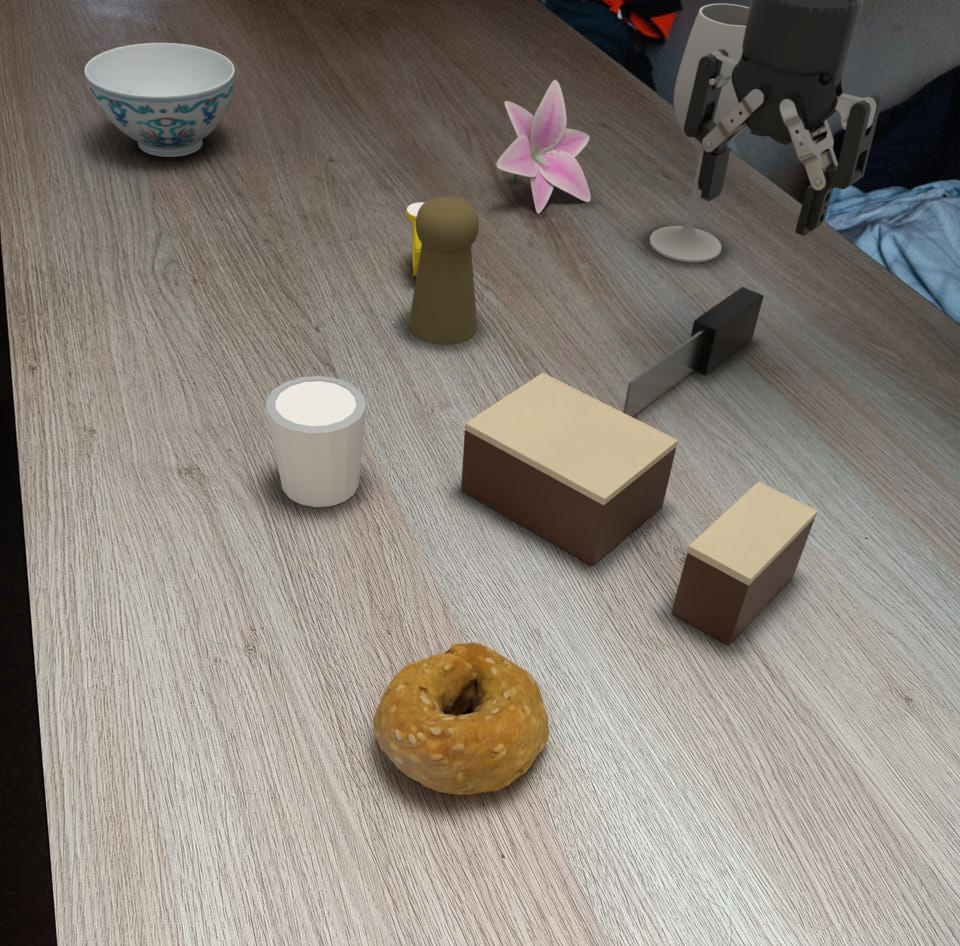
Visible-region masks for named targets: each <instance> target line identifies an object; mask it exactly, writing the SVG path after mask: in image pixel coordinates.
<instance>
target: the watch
mask: <svg viewBox="0 0 960 946" xmlns="http://www.w3.org/2000/svg"><path fill="white" fill-rule="evenodd" d="M424 203H425V202H424V201H423V202H421V201H420V202H414V203H411V204H409V205H407V207H406V211H405V212H406V214H405V215H406V218H407V220H408V221H410V222H412V275H413V277H415V278H416V276H417V270H418V264H419V258H420V252H421V245H422V243H421V241H420V240H419V238H418V236H417V232H416V217H417V214H418V210H419V209H420V207H421V206H422V204H424Z"/></svg>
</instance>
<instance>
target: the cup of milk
mask: <svg viewBox="0 0 960 946" xmlns="http://www.w3.org/2000/svg"><path fill="white" fill-rule="evenodd" d="M265 406H266V414H267V415H266V416H267V419H268V424H269V429H270V430H269V431H270V434H271V440H272V445H273V450H274V455H275V458H276V464H277V469H278V474H279V478H280V484H281V488H282V491H283V492H284V494H285V495H286V496H287V497H288V499H290V500H291V501H293V502H295V503H297V504H299V505H301V506H307V507H310V508H311V507H312V508H328V507H333V506H336V505H339V504H342V503H345V502H346V501H348V500H349V499H350V498H352V497H353V496H354V495H355V494H356V493H357V489H358V488H359V485H360V476H361V465H362V452H363V444H364V443H363V442H364V433H365V422H366V410H367V405H366V400H365V395H364V394H363V393H362V392H361V391H360V390H359V389H358V388H357V387H356V386H355V385H353V384H351V383H349V382H347V381H345V380H342V379H340V378H337V377H336V378H335V377H330V376H323V375H314V376H313V375H312V376H300V377H297V378H293V379H291V380H288V381H287V380H286V381H284V382H283V383H282V384H280V385H278V386H276V387H275V388H273V389H272V390H271V392H270V393H269V395H268V397H267V398H266V400H265Z"/></svg>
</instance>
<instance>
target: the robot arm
mask: <svg viewBox="0 0 960 946" xmlns="http://www.w3.org/2000/svg"><path fill="white" fill-rule="evenodd" d="M864 1H865V0H750V5H749V8H750V9H749V14H748V19H747V24H746V29H745V34H744V39H743V44H742V48H743V52H742V56H741V58H740V60H739V61H737V60H735V59H732V58H729V55H728V52H727V51H726V50H724V49H719V50H717V51H714V52H712V53H710V54H708V55H706V56H704V57H702V58H701V59H700V61H699V64H698V68H697V72H696V77H695V81H694V85H693V90H692V94H691V98H690V103H689V107H688V111H687V116H686V120H685V124H684V133H685V134H686V135H685V134H684V133H683V134H684V135H685V137H686V136H688V137H694V138H696V139H697V140H698V141H699V142H700V143H701V144H702V147H703V158H702V163H701V168H700V173H699V178H698V188H699V190H700V198H701V200H705V201H707V202H711V201H713V200H714V199H717V198H718V197H719V196H720V195H721V194H722V191H723V188H724V182H725V178H726V174H727V169H728V163H729V159H730V154H731V150H732V149H731V147H728V142H729V141H730V140H731V139H732V138H734V137H735V136H736V135H737V134H738V133H739V132H740V131H741V130H742V129H743V128H745V127H746V126H747V127H746V128H748V129H749V130H750V134H752V135H755V136H757V137H769V138H771V139H772V140H774V141H775V142H776V143H778V144H782V145H785V146H788V145H790V144H792V145H793V149H794V151H795V154H796V157H797V159H798V161H799V163H802V164H803V167H804V168H805V172H806V175H807V179H808V181H809V183H810V185H808V186H807V187H806V189H805V192H804V196H803V199H802V203H801V207H800V211H799V215H798V218H797V223H796V227H795V231H794V232H795V234H797V235H800V236H803V237H805V236H807V235H808V234H810V233H812V231H814V230H816V229H817V228H819V227H820V226H822V224H823V223H824V222H825V219H826V216H827V212H828V210H829V206H830V203H831V199H832V197H833V196H832V195H833V192H834V189H839V190H845V189H847V188H849V187H850V186H852V185H853V184H855V183H856V182H858V181H859V180H861V179H862V178H863V177H864V175H865V172H866V168H867V164H868V161H869V155H870V151H871V148H872V143H873V139H874V135H875V132H876V131H875V130H876V127H877V123H878V119H879V115H880V110H881V105H882V100H881V98H880V97H879V95H878V94H875V93H871V94H869V95H867V96H865V97H862V96H861V97H860V96H856V95H852V94H848V93H844V88H843V75H844V72H845V70H846V67H847V63H848V61H849V56H850V53H851V49H852V45H853V42H854V38H855V35H856V30H857V28H858V23H859V19H860V15H861V12H862V8H863V4H864ZM730 77H731V80H732V84H733V87H734V90H735V94H736V97H737V100H738V103H739V104H738V105H737V106H736V107H735V108H734V109H733V110H732V111H730V112H729V113H728V114H727V115H726V116H725V117H724V118H723V119H722V120H721V121H720V122H719V123H718V125H717V124H716V123H715V122H714V117H715V113H716V109H717V105H718V101H719V97H720V93H721V89H722V86H724V85H726V84H727V83H728V81H729V79H730ZM836 112H838V114H839V116H840V126H841V128H842V129H843V130H844V136H843V140H842V144H841V149H840V153H839V158H838V160H837V157H836V154H835V150H834V143H835V140H834V136H833V133H832V130H831V127H830V124H829V121H828V119H829V118H830V117H831V116H833V114H834V113H836ZM746 128H745V129H746ZM811 135H812V136H811ZM734 139H735V138H734ZM730 142H731V141H730ZM730 142H729V143H730Z"/></svg>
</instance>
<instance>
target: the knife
mask: <svg viewBox="0 0 960 946" xmlns="http://www.w3.org/2000/svg"><path fill="white" fill-rule="evenodd" d="M764 297H765V296H764V295H763V294H762V293H759V292H756V291H754V290H751V289H749V288H746V287H744V286H741V287H739V288H738V289H737V290H735V291H733V293H731V294H730V295H728V296H726V298H724V299H723V300H721V301H719V302H718V303H717V304H715V305H714V306H712V307H711V308H710V309H708V310H707V311H706V312H704V313H703V314H701V315H700V316H698V317H697V318H695V319H694V321H693V324H692V328H691V329H692V330H691V333H690V337H689V338H688V339H686V340H685V341H684V342H682V343H681V344H679V345H678V346H677V347H675V348H674V349H673V350H671V351H669V352H668V353H667V354H665V355H664V356H663V357H661V358H660V359H659V360H657V361H655V362H654V363H653V364H651V365H650V366H649V367H647V368H646V369H644V370H643V371H642V372H640V373H639V374H637V375H636V376H634V377H633V378H631V379H630V380H629V381H628V384H627V391H626V396H625V402H624V407H623V413H625V414H627V415H629V416H631V417H633V416H634V415H635V414H637V413H638V412H640V411H641V410H643V408H645V407H646V406H647V405H649V404H650V403H652V402H653V401H654V400H655V399H657V398H658V397H659V396H661V395H662V394H663V393H665V392H666V391H668V390H669V389H670V388H671V387H673V386H675V384H677V383H678V382H680V381H681V380H682V379H684V378H685V377H686V376H688V375H689V374H690V373H692V372H693V371H695V372H696V373H699V374H701V375H703V376H707V375H708V374H710V373H712V371H714V370H715V369H716V368H717V367H719V366H720V365H722V364H723V363H724V362H726V360H728V359H729V358H730V357H732V356H733V355H734V354H736V353H738V351H740V350H741V349H742V348H744V347H745V346H747V345H748V344H749V343H750V342H752V341H753V338H754V333H755V330H756V326H757V323H758V319H759V315H760V312H761V308H762V304H763V301H764Z"/></svg>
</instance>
